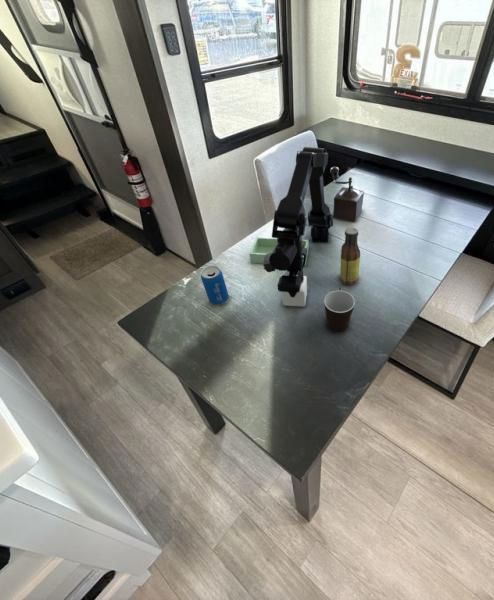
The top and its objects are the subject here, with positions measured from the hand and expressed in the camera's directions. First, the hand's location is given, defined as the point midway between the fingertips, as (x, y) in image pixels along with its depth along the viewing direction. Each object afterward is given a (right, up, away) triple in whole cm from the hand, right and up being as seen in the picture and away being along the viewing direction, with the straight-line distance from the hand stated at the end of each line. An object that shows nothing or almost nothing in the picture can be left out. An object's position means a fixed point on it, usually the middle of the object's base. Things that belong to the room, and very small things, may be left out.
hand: (294, 288), depth 99 cm
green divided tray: (-6, +13, +19) cm, 24 cm away
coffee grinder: (+20, +35, +40) cm, 57 cm away
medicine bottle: (0, -3, +3) cm, 5 cm away
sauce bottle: (+18, +3, +9) cm, 21 cm away
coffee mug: (+14, -10, -4) cm, 18 cm away
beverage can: (-25, -4, +4) cm, 26 cm away
